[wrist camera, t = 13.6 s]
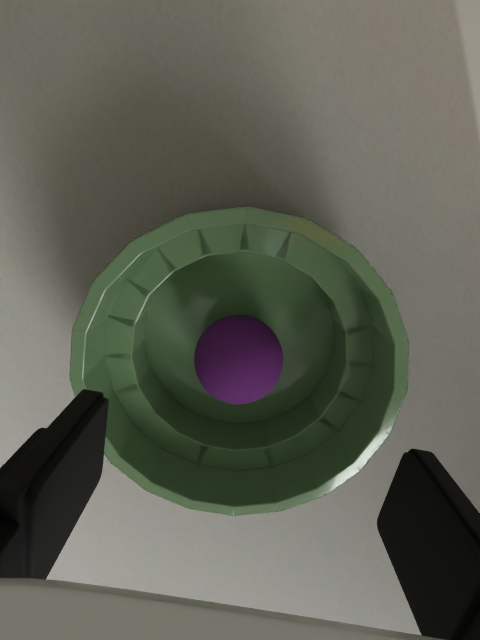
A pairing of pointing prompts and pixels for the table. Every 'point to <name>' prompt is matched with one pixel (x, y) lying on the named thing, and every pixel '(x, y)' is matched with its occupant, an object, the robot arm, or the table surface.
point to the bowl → (296, 376)
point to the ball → (238, 359)
